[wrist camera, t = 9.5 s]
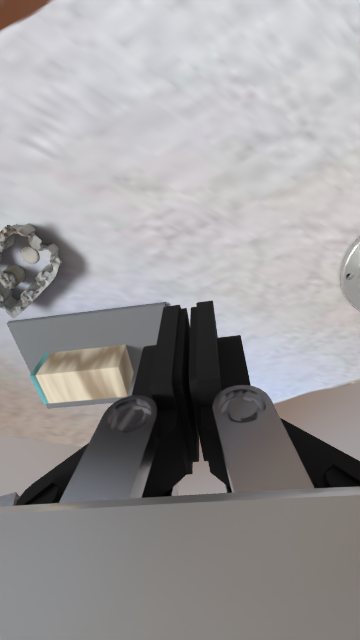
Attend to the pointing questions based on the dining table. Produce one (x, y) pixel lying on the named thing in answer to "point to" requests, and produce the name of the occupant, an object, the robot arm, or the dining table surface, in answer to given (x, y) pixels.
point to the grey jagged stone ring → (14, 274)
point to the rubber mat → (89, 336)
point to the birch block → (83, 374)
